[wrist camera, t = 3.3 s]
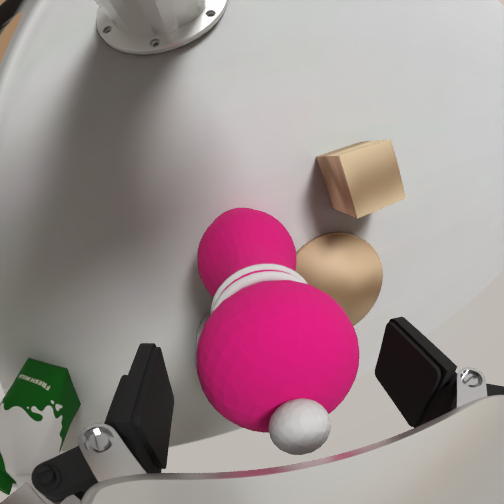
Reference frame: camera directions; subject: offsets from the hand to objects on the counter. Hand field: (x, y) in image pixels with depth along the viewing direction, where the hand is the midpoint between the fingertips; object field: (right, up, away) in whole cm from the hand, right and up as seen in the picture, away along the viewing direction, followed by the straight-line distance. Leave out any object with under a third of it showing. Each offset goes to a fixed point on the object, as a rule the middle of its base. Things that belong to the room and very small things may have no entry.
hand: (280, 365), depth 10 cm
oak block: (+8, +12, +14) cm, 20 cm away
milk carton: (-28, -13, +17) cm, 36 cm away
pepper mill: (-2, +5, +15) cm, 16 cm away
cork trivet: (+7, +1, +17) cm, 18 cm away
